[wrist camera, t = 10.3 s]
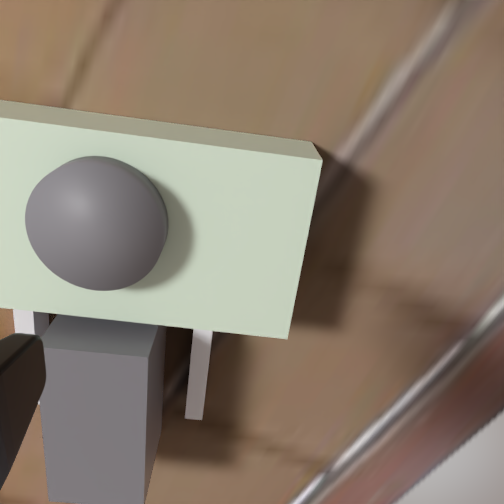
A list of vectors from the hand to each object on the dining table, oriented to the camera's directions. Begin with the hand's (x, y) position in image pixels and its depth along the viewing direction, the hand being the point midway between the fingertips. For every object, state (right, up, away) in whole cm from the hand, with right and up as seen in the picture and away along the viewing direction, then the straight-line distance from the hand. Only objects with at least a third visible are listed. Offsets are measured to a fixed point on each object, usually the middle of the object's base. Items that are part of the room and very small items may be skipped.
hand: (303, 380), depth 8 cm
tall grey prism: (-7, -3, +14) cm, 16 cm away
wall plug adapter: (-6, +1, +12) cm, 14 cm away
